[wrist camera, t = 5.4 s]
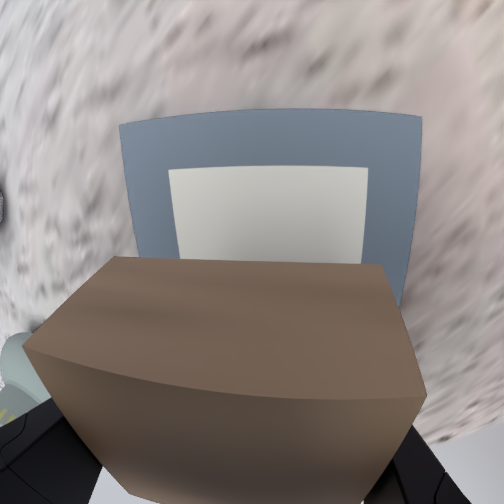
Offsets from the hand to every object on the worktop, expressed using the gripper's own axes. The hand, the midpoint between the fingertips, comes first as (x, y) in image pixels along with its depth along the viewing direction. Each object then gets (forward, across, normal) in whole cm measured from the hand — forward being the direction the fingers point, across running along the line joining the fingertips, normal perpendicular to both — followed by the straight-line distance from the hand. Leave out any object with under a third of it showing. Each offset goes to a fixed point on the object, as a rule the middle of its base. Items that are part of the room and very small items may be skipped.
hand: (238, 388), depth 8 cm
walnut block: (+1, 0, 0) cm, 1 cm away
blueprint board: (+9, 0, 0) cm, 9 cm away
